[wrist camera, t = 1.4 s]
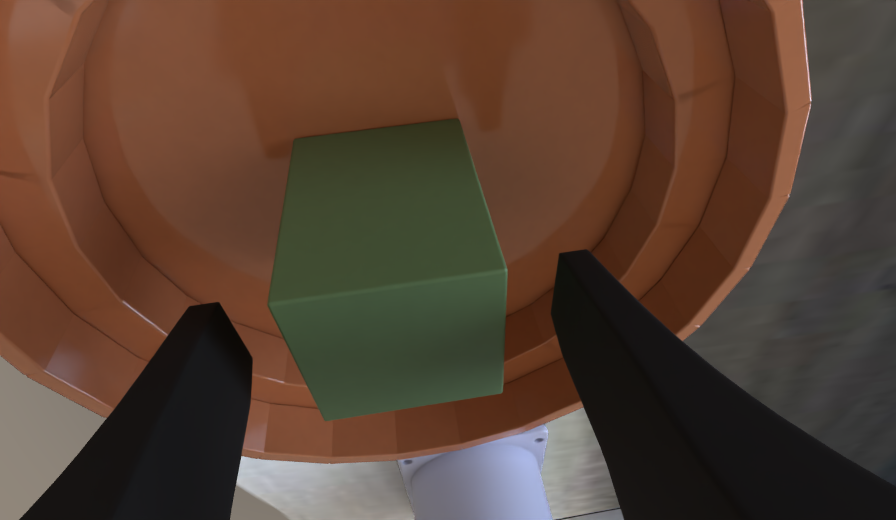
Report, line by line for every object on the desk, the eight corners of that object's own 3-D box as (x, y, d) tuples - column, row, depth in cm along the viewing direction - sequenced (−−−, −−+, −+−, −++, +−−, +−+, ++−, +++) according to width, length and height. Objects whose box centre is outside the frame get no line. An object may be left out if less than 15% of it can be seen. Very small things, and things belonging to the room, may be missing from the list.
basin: (628, 329, 21) (671, 415, 18) (199, 395, 20) (174, 497, 17) (842, -320, 8) (1099, -372, 5) (-312, -233, 7) (-741, -241, 4)
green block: (465, 238, 15) (503, 394, 11) (331, 257, 15) (323, 423, 11) (459, 116, 12) (508, 270, 9) (292, 137, 12) (265, 305, 8)
